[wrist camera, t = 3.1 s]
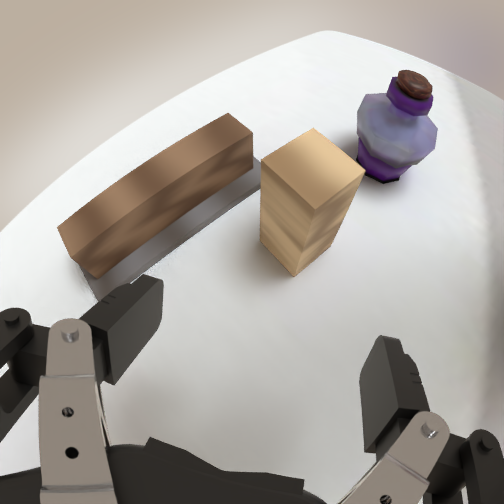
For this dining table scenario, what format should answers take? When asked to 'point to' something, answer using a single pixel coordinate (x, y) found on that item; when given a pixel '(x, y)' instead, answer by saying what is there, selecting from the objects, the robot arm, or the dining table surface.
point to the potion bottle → (396, 127)
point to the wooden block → (305, 198)
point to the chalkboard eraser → (162, 204)
